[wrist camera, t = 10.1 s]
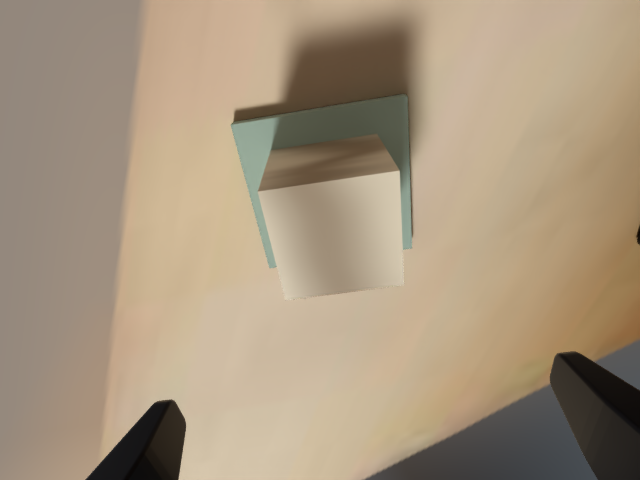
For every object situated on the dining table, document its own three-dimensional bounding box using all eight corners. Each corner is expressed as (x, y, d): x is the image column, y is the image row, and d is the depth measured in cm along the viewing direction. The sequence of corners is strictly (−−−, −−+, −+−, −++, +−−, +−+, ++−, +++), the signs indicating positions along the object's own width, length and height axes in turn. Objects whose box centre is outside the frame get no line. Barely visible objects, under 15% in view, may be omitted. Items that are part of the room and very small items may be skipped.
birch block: (376, 133, 17) (399, 170, 13) (383, 227, 19) (404, 285, 15) (270, 150, 17) (257, 191, 13) (290, 240, 20) (285, 300, 15)
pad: (404, 94, 17) (407, 95, 16) (409, 242, 21) (411, 248, 20) (233, 121, 17) (230, 124, 17) (270, 262, 21) (269, 268, 21)
